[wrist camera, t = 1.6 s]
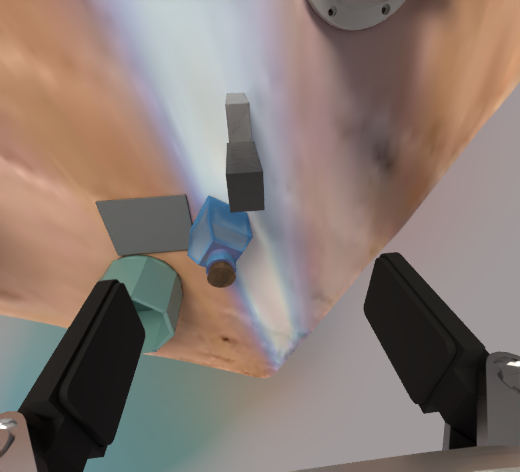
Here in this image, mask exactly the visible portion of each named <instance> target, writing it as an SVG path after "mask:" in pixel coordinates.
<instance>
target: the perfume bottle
mask: <svg viewBox="0 0 520 472" xmlns="http://www.w3.org/2000/svg"><path fill="white" fill-rule="evenodd" d="M251 239H252V232H251V228H250V224H249V219H248V215H247V213H246V212H232V213H230V205H229V204H226V203H224V202H222V201H220V200H218V199H215V198H213V197H211V196H208V198H207V199H206V201H205V203H204V205H203V207H202V209H201V210H200V212H199V214H198V216H197V218H196V220H195V221H194V223H193V225H192V227H191V229H190V236H189V245H188V254H187V255H188V256H189V257H190V258H191V259H192V260H193V261H195V262H196V263H197V264H198V265H201V266H204V267H206V273H207V275H208V276H207V280H208V282H209V283H210V284H211V285H212V286H214V287H219V288H222V287H227V286H229V285H231V284H232V283H233V282H234V281H235V279H236V275H235V272H236V261H237V260H238V259H239V257H240V256H241V254H242V253H243V251H244V250H245V248H246V247H247V245H248V243H249V242H250V240H251Z"/></svg>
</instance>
